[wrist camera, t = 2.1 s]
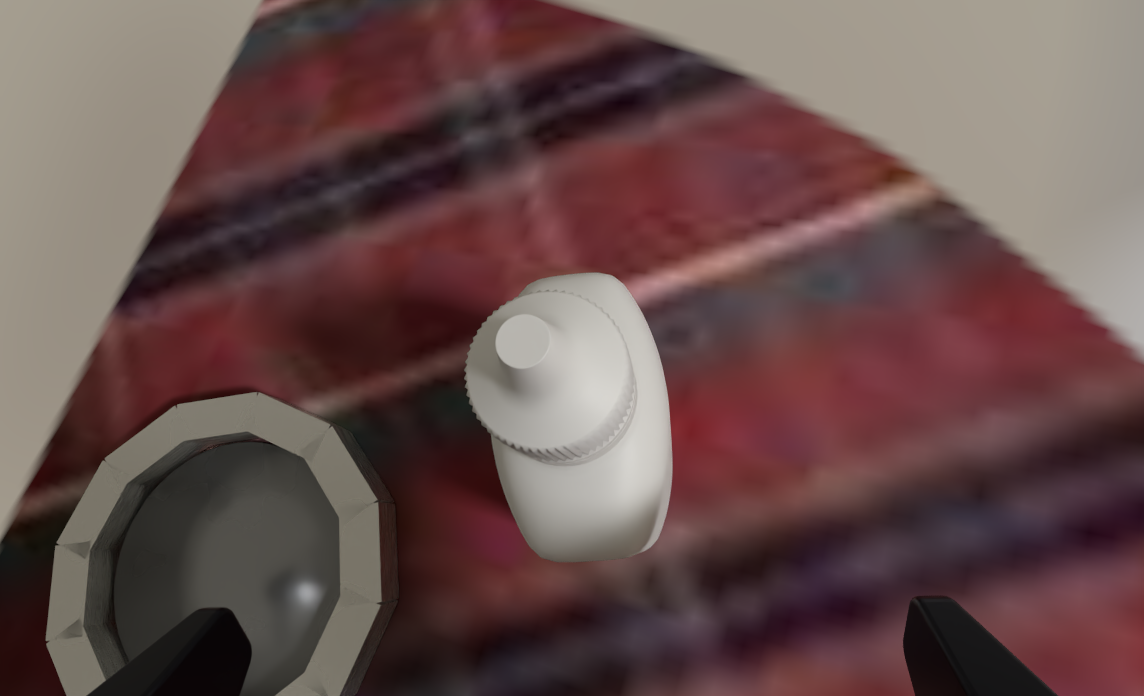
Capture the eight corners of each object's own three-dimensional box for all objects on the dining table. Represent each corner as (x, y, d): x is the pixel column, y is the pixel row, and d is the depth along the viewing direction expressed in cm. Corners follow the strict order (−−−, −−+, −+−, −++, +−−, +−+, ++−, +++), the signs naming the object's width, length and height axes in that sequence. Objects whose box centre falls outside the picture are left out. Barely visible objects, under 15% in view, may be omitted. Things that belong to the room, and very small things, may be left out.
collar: (404, 745, 18) (386, 760, 17) (68, 775, 19) (30, 790, 18) (390, 381, 21) (374, 373, 20) (99, 427, 22) (68, 421, 21)
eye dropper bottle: (506, 508, 19) (265, 476, 8) (587, 340, 20) (473, 101, 9) (641, 577, 18) (585, 653, 7) (719, 396, 19) (782, 204, 8)
